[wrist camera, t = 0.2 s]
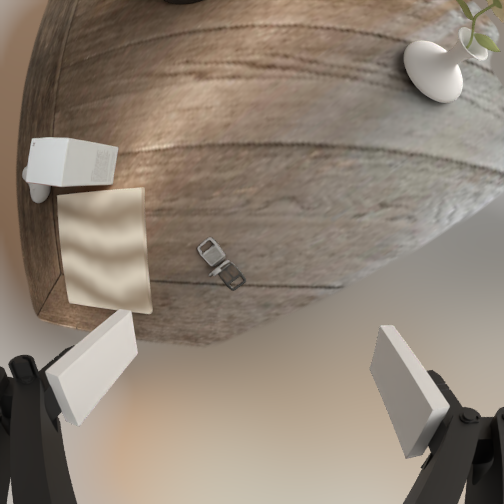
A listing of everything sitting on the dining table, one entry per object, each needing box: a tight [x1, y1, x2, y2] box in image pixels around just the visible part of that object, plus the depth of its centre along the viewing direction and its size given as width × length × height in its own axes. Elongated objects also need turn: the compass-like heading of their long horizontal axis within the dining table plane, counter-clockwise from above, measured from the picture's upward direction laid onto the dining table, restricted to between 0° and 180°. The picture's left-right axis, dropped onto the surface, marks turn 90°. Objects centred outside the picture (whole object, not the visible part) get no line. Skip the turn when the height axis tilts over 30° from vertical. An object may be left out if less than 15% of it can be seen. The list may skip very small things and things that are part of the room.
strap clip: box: [197, 237, 246, 291], centre depth 41 cm, size 8×3×4 cm, turn 39°
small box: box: [26, 137, 118, 187], centre depth 34 cm, size 8×6×13 cm
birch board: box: [57, 188, 153, 314], centre depth 43 cm, size 20×18×1 cm
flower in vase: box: [404, 0, 504, 103], centre depth 20 cm, size 13×11×25 cm
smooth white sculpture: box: [22, 166, 51, 203], centre depth 41 cm, size 4×8×5 cm
